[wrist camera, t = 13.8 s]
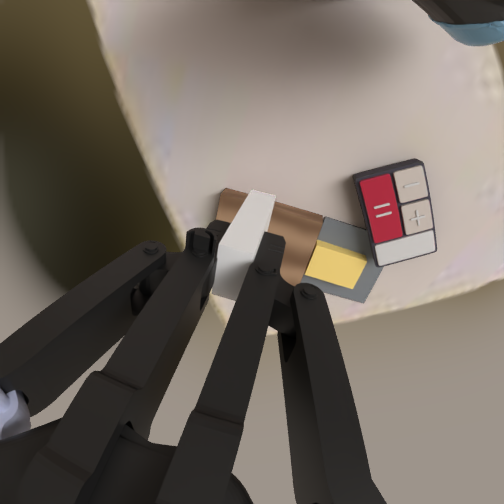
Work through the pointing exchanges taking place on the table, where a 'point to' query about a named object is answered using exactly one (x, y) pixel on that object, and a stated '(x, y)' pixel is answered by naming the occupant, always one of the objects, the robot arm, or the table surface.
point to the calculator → (397, 211)
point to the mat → (353, 241)
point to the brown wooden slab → (281, 231)
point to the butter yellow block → (335, 264)
